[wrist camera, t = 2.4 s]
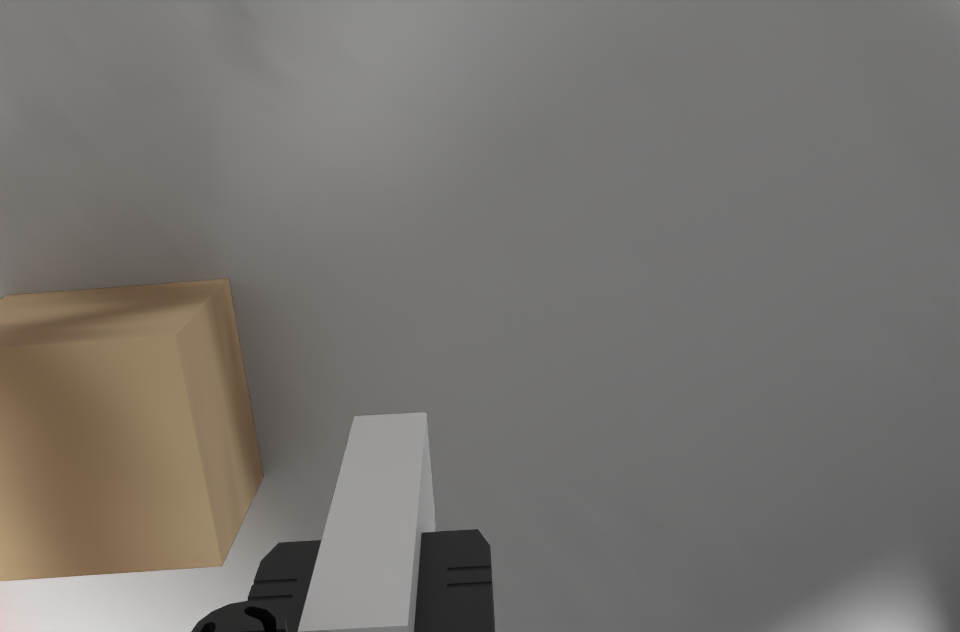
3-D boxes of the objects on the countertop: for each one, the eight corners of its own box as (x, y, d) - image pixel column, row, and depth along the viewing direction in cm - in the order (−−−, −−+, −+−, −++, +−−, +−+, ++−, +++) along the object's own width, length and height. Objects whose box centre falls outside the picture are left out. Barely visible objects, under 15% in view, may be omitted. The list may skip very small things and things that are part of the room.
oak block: (229, 277, 23) (175, 335, 19) (264, 473, 25) (222, 565, 21) (10, 293, 24) (-93, 354, 19) (61, 487, 26) (-22, 582, 21)
